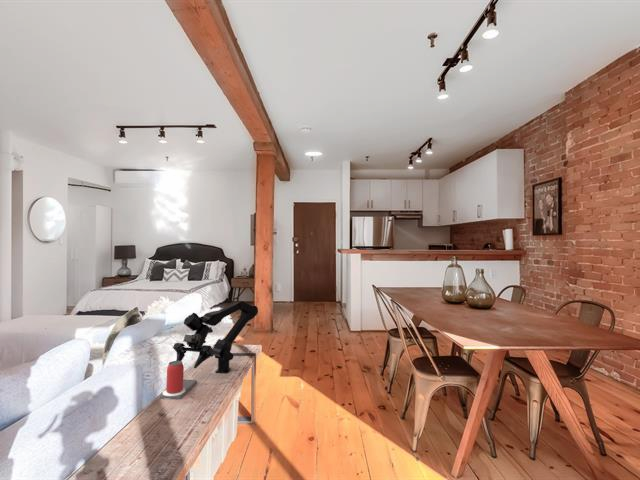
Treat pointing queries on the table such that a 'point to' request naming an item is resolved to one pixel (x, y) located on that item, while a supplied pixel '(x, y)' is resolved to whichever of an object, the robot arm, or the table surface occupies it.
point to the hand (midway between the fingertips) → (185, 367)
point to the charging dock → (186, 387)
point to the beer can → (175, 377)
